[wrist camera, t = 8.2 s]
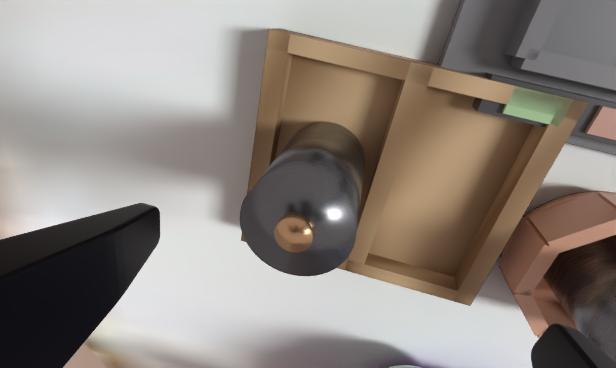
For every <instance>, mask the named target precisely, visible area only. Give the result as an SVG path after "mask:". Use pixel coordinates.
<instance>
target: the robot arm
mask: <svg viewBox="0 0 616 368" xmlns="http://www.w3.org/2000/svg"><path fill="white" fill-rule="evenodd" d="M159 239H160V212H159V209H158V208H157V207H155V206H151V205H148V204H144V203H138V204H134V205H131V206H127V207H123V208H119V209H115V210H112V211H108V212H104V213H100V214H96V215H93V216H89V217H85V218H81V219H77V220H73V221H70V222H66V223H62V224H58V225H54V226H51V227H47V228H43V229H39V230H35V231H32V232H28V233H24V234H20V235H16V236H12V237H9V238H5V239H1V240H0V368H63V367H64V365H65V364H66V363H67V362H68V361H69V360H70V358H71V357H72V356H73V355H74V354H75V352H76V351H77V350H78V349H79V348H80V346H81V345H82V344H83V343H84V342H85V340H86V339H87V338H88V337H89V336H90V335H91V333H92V332H93V331H94V330H95V329H96V327H97V326H98V325H99V324H100V323H101V321H102V320H103V319H104V318H105V317H106V315H107V314H108V313H109V312H110V311H111V309H112V308H113V307H114V306H115V305H116V303H117V302H118V301H119V300H120V298H121V297H122V296H123V294H124V293H125V291H126V290H127V289H128V287H129V286H130V284H131V283H132V281H133V280H134V278H135V277H136V275H137V274H138V272H139V271H140V269H141V268H142V266H143V265H144V263H145V262H146V261H147V259H148V258H149V256H150V255H151V253H152V252H153V250H154V249H155V247H156V246H157V244H158V242H159ZM531 361H532V366H533V368H616V362H615V361H614V360H613V359H612V358H611V357H609V356H608V355H607V354H606V353H605V352H604V351H602V350H601V349H600V348H599V347H598V346H596V345H595V344H594V343H593V342H592V341H591V340H589V339H588V338H587V337H586V336H585V335H583V334H582V333H581V332H580V331H578V330H577V329H575V328H572V327H569V326H566V325H562V324H559V323H553V324H551V325H550V326H549V327H548V328H547V329H546V330H545V332H544V333H543V334H542V336H541V337H540V338H539V340H538V341H537V342H536V343H535V345H534V346H533V348H532V352H531Z"/></svg>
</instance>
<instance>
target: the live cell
mask: <svg viewBox="0 0 616 368" xmlns="http://www.w3.org/2000/svg"><path fill="white" fill-rule="evenodd" d="M364 168H365V154H364V150H363V147H362V145H361V143H360V141H359V140H358V138H357V137H356V136H355V135H354V134H353V133H352V132H351V131H350V130H348V129H347V128H345V127H343V126H341V125H339V124H336V123H332V122H315V123H311V124H309V125H306V126H305V127H303V128H301V129H300V130H299V131H298V132H297V133H295V135H294V136H293V137H292V138H291V140H290V141H289V142H288V144H287V145H286V146H285V147H284V149H283V150H282V151H281V152H280V154H279V155H278V156H277V157H276V159H275V160H274V161H273V163H272V164H271V165H270V166H269V168H268V169H267V170H266V171H265V173H264V174H263V175H262V176H261V178H260V179H259V180H258V181H257V183H256V184H255V185H254V187H253V188H252V189H251V190H250V192H249V193H248V194H247V196H246V197H245V199H244V201H243V204H242V206H241V211H240V225H241V230H242V233H243V236H244V238H245V240H246V242H247V244H248V246H249V247H250V248H251V250H252V251H253V252H254V253H255V254H256V255H257V256H258V257H259V258H260V259H261V260H262V261H263V262H265V263H266V264H268V265H269V266H271V267H273V268H275V269H277V270H279V271H281V272H284V273H287V274H292V275H297V276H315V275H320V274H324V273H327V272H329V271H331V270H333V269H335V268H337V267H338V266H340V265H341V264H342V263H343V262H344V261H345V260H346V259H347V258H348V256H349V255H350V253H351V251H352V249H353V247H354V244H355V240H356V232H357V224H358V216H359V208H360V200H361V192H362V184H363V176H364Z"/></svg>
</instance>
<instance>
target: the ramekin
mask: <svg viewBox="0 0 616 368" xmlns="http://www.w3.org/2000/svg"><path fill="white" fill-rule="evenodd" d="M613 235H616V193H612V192H584V193H576V194H572V195H567V196H564V197H561V198H558V199H554V200H552V201H550V202H548V203H545V204H543V205H541V206H540V207H538V208H536V209H534V210H533V211H532V212H530V213H529V214H527V215H526V216H525V217H524V218H523V219H521V220H520V221H519V223H518V225H517V226H516V228H515V230H514V231H513V233H512V235H511V237H510V238H509V240H508V242H507V243H506V245H505V247H504V249H503V250H502V254H501V260H500V262H499V264H500V266H499V267H500V269H501V271H502V273H503V275H504V277H505V279H506V281H507V283H508V285H509V287H510V289H511V291H512V293H513V295H514V297H515V299H516V301H517V303H518V305H519V307H520V308H521V310H522V312H523V314H524V316H525V318H526V320H527V321H528V323H529V325H530V327H531V329H532V331H533V333H534V334H535V336H536V335H537V337H538V338H540V337H541V336H542V334H543V333H544V332H545V330H546V329H547V328H548V327H549V326H550V325H551V324H553V323H559V324H562V325H566V326H569V327H572V328H575V329H577V328H576V327H575V325H574V324H573V322H572V321H571V319H570V318H569V316H568V315H567V313H566V312H565V310H564V308H563V307H562V305H561V304H560V302H559V301H558V299H557V298H556V296H555V295H554V293H553V292H552V290H551V289H550V287H549V285H548V284H547V282H546V281H545V279H544V278H543V276H544V274H545V273H546V272H547V270H548V269H549V267H550V266H551V264H552V263H553V261H554V260H555V258H556V257H557V255H558V254H559V253H561V252H564V251H567V250H570V249H573V248H576V247H579V246H582V245H586V244H589V243H592V242H595V241H598V240H601V239H604V238H607V237H610V236H613Z"/></svg>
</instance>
